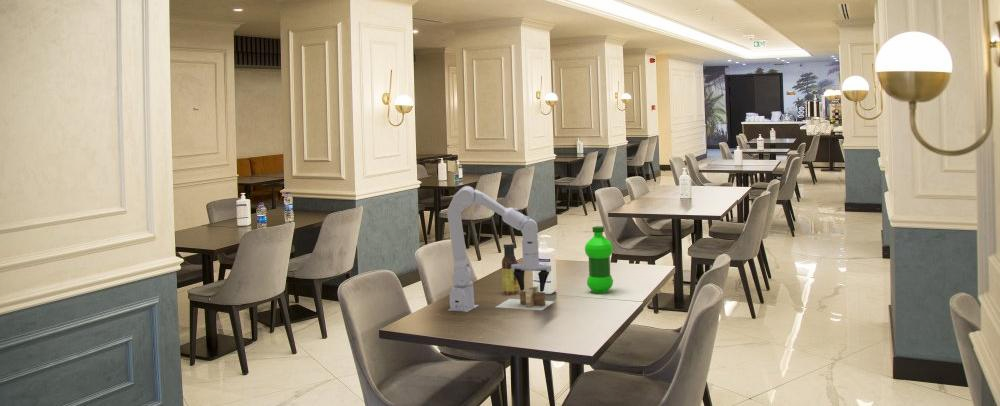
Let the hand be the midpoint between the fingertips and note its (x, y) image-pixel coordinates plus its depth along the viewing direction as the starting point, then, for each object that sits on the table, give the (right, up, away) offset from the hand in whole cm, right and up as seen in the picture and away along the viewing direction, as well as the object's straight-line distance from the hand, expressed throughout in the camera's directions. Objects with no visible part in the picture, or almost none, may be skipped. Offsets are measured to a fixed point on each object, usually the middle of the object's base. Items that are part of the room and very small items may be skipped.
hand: (532, 290), depth 270 cm
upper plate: (0, -5, +1) cm, 5 cm away
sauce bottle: (-7, -4, +20) cm, 22 cm away
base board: (-2, -6, +2) cm, 7 cm away
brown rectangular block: (0, -5, +1) cm, 5 cm away
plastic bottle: (+27, -3, +18) cm, 32 cm away
